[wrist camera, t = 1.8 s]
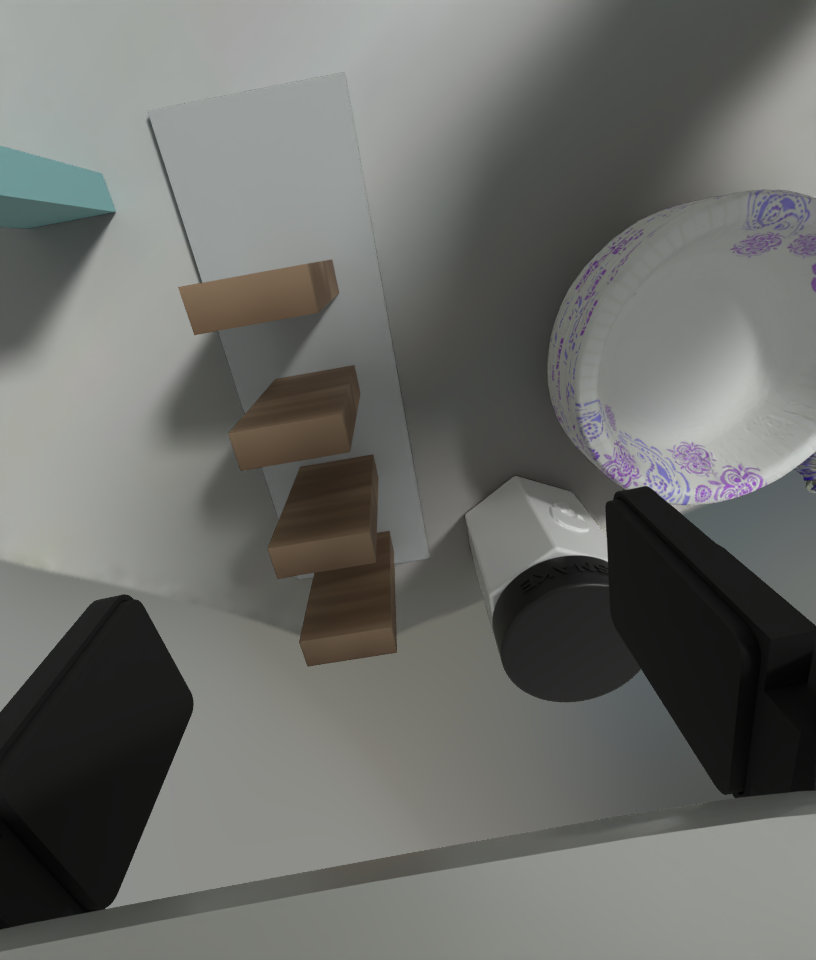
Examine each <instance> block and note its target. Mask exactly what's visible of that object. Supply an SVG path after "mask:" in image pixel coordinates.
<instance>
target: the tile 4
mask: <svg viewBox="0 0 816 960" xmlns="http://www.w3.org/2000/svg"><path fill="white" fill-rule="evenodd" d="M378 480H379V478H378V473H377V469H376V464H375V459H374V455H373V454H372V455H366V456H360V457H355V458H349V459H343V460H337V461H331V462H325V463H319V464H313V465H307V466H302V467H300V468H299V470H298V473H297V475H296V478H295V480H294V483H293V486H292V488H291V491H290V493H289V496H288V498H287V501H286V503H285V506H284V508H283V511H282V513H281V516H280V518H279V521H278V523H277V526H276V528H275V531H274V533H273V536H272V539H271V541H270V544H269V546H268V552H269V555H270V558H271V561H272V564H273V567H274V570H275V572H276V575H277V578H278V579H279V578H285V577H292V576H298V575H304V574H310V573H316V572H322V571H329V570H335V569H341V568H347V567H353V566H359V565H365V564H372V563H376V545H377V512H378Z"/></svg>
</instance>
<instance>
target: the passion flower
mask: <svg viewBox="0 0 816 960" xmlns="http://www.w3.org/2000/svg"><path fill="white" fill-rule="evenodd" d="M794 470H797V472H799V473H800V474H802V475H803V477H804V481H807V482H806V489H807V490H808V492H810V493H816V452H815V453H813V454H812V455H811V456H810V457H809V458H807V459H806V460H805V461H804V462H802V463H801V464H800V465H798V466H797V467H796V468H794Z"/></svg>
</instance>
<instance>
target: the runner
mask: <svg viewBox="0 0 816 960" xmlns="http://www.w3.org/2000/svg"><path fill="white" fill-rule="evenodd" d="M148 114H149V117H150V120H151V123H152V127H153V130H154V133H155V136H156V139H157V142H158V145H159V148H160V152H161V155H162V158H163V161H164V164H165V167H166V170H167V173H168V177H169V180H170V183H171V186H172V189H173V192H174V195H175V198H176V202H177V205H178V208H179V211H180V214H181V217H182V220H183V223H184V227H185V230H186V233H187V236H188V239H189V242H190V245H191V248H192V251H193V255H194V258H195V261H196V264H197V267H198V270H199V273H200V276H201V280H202V283H204V282H209V281H215V280H220V279H226V278H231V277H237V276H242V275H247V274H253V273H258V272H264V271H269V270H275V269H280V268H286V267H291V266H297V265H302V264H308V263H314V262H320V261H326V260H333V265H334V270H335V275H336V279H337V284H338V289H339V294H338V295H337V296H336V297H335V298H334V299H332V300H331V301H330V302H329V303H328V304H327V305H326V306H325V307H324V308H323V309H322V310H320V311H319V312H318V313H315V314H309V315H304V316H298V317H292V318H287V319H281V320H276V321H270V322H265V323H259V324H253V325H248V326H242V327H237V328H231V329H226V330H220V331H218V333H219V336H220V339H221V342H222V345H223V348H224V351H225V355H226V358H227V361H228V364H229V367H230V370H231V373H232V376H233V380H234V383H235V386H236V389H237V392H238V395H239V398H240V401H241V405H242V408H243V411H244V414H245V413H246V412H247V411H248V410H249V409H250V408H251V406H252V405H253V404H254V403H255V402H256V401H257V399H258V398H259V397H260V396H261V395H262V394H263V392H264V391H265V390H266V389H267V388H268V387H269V385H270V384H271V383H272V382H273V381H274V380H275V379H278V378H284V377H289V376H295V375H301V374H306V373H312V372H318V371H323V370H329V369H335V368H341V367H346V366H352V365H355V369H356V374H357V379H358V384H359V388H360V393H361V394H360V400H359V405H358V411H357V417H356V422H355V428H354V434H353V440H352V445H351V451H350V452H349V453H343V454H337V455H332V456H326V457H320V458H314V459H308V460H302V461H296V462H290V463H285V464H279V465H273V466H267V467H262V470H263V473H264V476H265V479H266V483H267V486H268V489H269V492H270V495H271V498H272V501H273V504H274V508H275V511H276V514H277V517H278V520H279V518H280V516H281V513H282V511H283V508H284V506H285V503H286V501H287V498H288V496H289V493H290V491H291V488H292V486H293V483H294V480H295V478H296V475H297V473H298V470H299V468H300V467H302V466H307V465H313V464H319V463H325V462H331V461H337V460H343V459H349V458H355V457H360V456H366V455H372V454H373V455H374V459H375V464H376V469H377V473H378V478H379V480H378V512H377V533H379V532H385V531H390V535H391V540H392V545H393V549H394V564H399V563H405V562H411V561H417V560H423V559H430V556H429V550H428V545H427V539H426V533H425V527H424V522H423V516H422V510H421V505H420V499H419V493H418V487H417V482H416V476H415V470H414V465H413V459H412V453H411V448H410V442H409V436H408V430H407V425H406V419H405V413H404V408H403V402H402V396H401V390H400V385H399V379H398V373H397V368H396V362H395V356H394V350H393V345H392V339H391V333H390V328H389V322H388V316H387V310H386V305H385V299H384V293H383V288H382V282H381V276H380V271H379V265H378V259H377V253H376V248H375V242H374V236H373V231H372V225H371V219H370V213H369V208H368V202H367V196H366V191H365V185H364V179H363V173H362V168H361V162H360V156H359V151H358V145H357V139H356V133H355V128H354V122H353V116H352V111H351V105H350V99H349V94H348V88H347V82H346V76H345V72H342V73H337V74H332V75H327V76H322V77H317V78H311V79H306V80H301V81H296V82H291V83H286V84H281V85H276V86H270V87H265V88H260V89H255V90H250V91H245V92H240V93H235V94H230V95H224V96H219V97H214V98H209V99H204V100H199V101H194V102H189V103H183V104H178V105H173V106H168V107H163V108H158V109H153V110H148ZM312 577H314V573H310V574H304V575H298V576H297V579H298V580H300V579H306V578H312Z"/></svg>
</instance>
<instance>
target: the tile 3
mask: <svg viewBox="0 0 816 960" xmlns="http://www.w3.org/2000/svg"><path fill="white" fill-rule="evenodd" d="M360 394H361V393H360V388H359V384H358V379H357V374H356V369H355V365H352V366H346V367H341V368H335V369H329V370H323V371H318V372H312V373H306V374H301V375H295V376H289V377H284V378H278V379H275V380H274V381H273V382H272V383H271V384H270V385H269V387H268V388H267V389H266V390H265V391H264V392H263V394H262V395H261V396H260V397H259V398H258V399H257V401H256V402H255V403H254V404H253V405H252V406H251V408H250V409H249V410H248V411H247V412H246V413H245V415H244V416H243V417H242V418H241V419H240V420H239V421H238V423H237V424H236V425H235V426H234V427H233V428H232V430H231V431H230V432H229V433H228V435H229V438H230V441H231V444H232V446H233V449H234V452H235V455H236V458H237V461H238V464H239V467H240V470H241V471H243V470H249V469H255V468H261V467H267V466H273V465H279V464H285V463H290V462H296V461H302V460H308V459H314V458H320V457H326V456H332V455H337V454H343V453H349V452H350V451H351V445H352V440H353V434H354V428H355V422H356V417H357V411H358V405H359V400H360Z"/></svg>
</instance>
